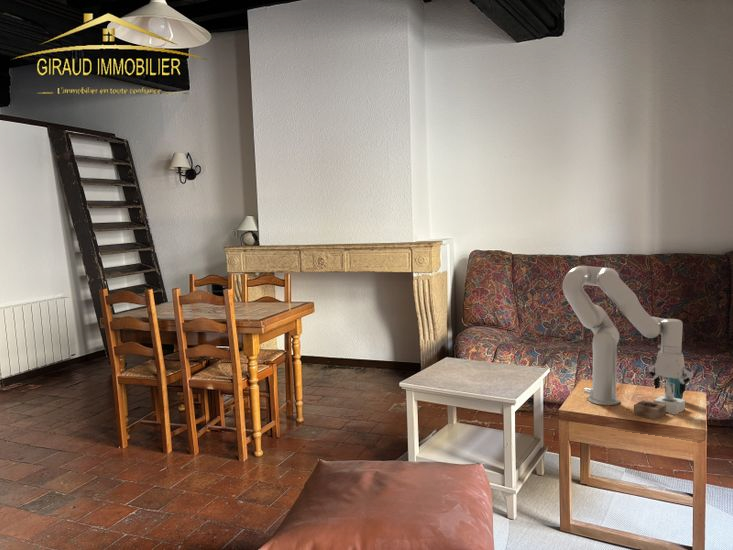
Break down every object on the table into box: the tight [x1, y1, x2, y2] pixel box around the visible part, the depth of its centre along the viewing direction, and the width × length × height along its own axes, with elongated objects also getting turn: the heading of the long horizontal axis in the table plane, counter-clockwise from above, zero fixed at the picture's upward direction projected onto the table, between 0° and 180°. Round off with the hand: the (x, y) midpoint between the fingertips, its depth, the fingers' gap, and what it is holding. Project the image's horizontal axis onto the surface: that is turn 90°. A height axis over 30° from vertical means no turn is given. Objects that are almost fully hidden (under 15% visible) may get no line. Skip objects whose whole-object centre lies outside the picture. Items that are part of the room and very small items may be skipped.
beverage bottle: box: [667, 377, 684, 399], centre depth 262 cm, size 6×7×20 cm
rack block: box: [653, 395, 686, 415], centre depth 251 cm, size 9×9×4 cm
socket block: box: [633, 399, 667, 421], centre depth 245 cm, size 9×9×4 cm
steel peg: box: [664, 381, 675, 402], centre depth 251 cm, size 3×3×11 cm
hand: (669, 390), depth 251 cm, fingers open, 9 cm apart
